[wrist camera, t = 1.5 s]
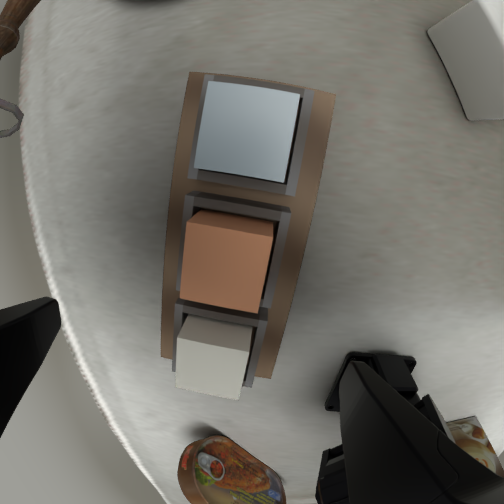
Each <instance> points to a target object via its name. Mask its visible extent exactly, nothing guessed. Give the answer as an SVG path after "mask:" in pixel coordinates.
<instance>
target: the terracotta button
mask: <svg viewBox="0 0 504 504" xmlns="http://www.w3.org/2000/svg"><path fill="white" fill-rule="evenodd" d="M272 241H273V222H270V221H265V220H260V219H254V218H249V217H243V216H238V215H232V214H226V213H220V212H215V211H209V210H203V209H201V210H200V211H199V212H197V213H196V214H195V215H194V216H193V217H192V218H191V219H189V220H188V221H187V224H186V233H185V243H184V253H183V263H182V274H181V286H180V298H181V299H185V300H190V301H195V302H200V303H205V304H210V305H215V306H220V307H225V308H230V309H235V310H241V311H246V312H252V313H257V314H258V309H259V304H260V299H261V295H262V290H263V285H264V280H265V275H266V270H267V266H268V261H269V256H270V251H271V246H272Z"/></svg>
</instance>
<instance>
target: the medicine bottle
mask: <svg viewBox="0 0 504 504" xmlns="http://www.w3.org/2000/svg"><path fill="white" fill-rule="evenodd" d="M427 33H428V35H429V37H430V39H431V40H432V42H433V44H434V46H435V48H436V50H437V51H438V53H439V55H440V57H441V59H442V61H443V63H444V65H445V67H446V69H447V72H448V74H449V76H450V78H451V80H452V82H453V85H454V87H455V89H456V92H457V94H458V96H459V99H460V101H461V104H462V106H463V109H464V111H465V114H466V117H467V118H468V119H469V120H470V121H475V120H498V119H504V0H473V1H471V2H469V3H468V4H466V5H464V6H463V7H461V8H460V9H458V10H457V11H455V12H453V13H452V14H450V15H449V16H447V17H446V18H444V19H443V20H441V21H440V22H438V23H437V24H435V25H434V26H432V27H431V28H429V29H428V31H427Z"/></svg>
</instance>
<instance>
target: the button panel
mask: <svg viewBox="0 0 504 504" xmlns="http://www.w3.org/2000/svg"><path fill="white" fill-rule="evenodd" d="M208 81H215V82H224V83H233V84H241V85H249V86H256V87H262V88H269V89H275V90H280V91H286V92H291V93H296V94H300V98H299V104H298V109H297V115H296V120H295V126H294V131H293V137H292V142H291V148H290V153H289V158H288V164H287V169H286V174H285V179H284V183H282V182H277V181H272V180H266V179H261V178H255V177H250V176H244V175H238V174H232V173H225V172H219V171H213V170H206V169H199V168H194V162H195V156H196V149H197V143H198V137H199V130H200V125H201V119H202V113H203V107H204V102H205V96H206V91H207V86H208ZM335 98H336V94H332V93H328V92H324V91H320V90H315V89H311V88H306V87H302V86H297V85H291V84H286V83H281V82H275V81H269V80H262V79H256V78H249V77H241V76H232V75H223V74H213V73H200V72H189V77H188V82H187V87H186V93H185V98H184V104H183V109H182V115H181V121H180V127H179V133H178V140H177V146H176V153H175V160H174V168H173V175H172V183H171V192H170V201H169V210H168V220H167V231H166V243H165V256H164V272H163V290H162V315H161V357H164V358H168V359H172V371H173V372H176V351H177V337H178V335H179V333H180V331H181V328H182V326H183V324H184V322H185V320H186V318H187V316H188V314H193V315H198V316H203V317H208V318H213V319H218V320H223V321H228V322H233V323H239V324H244V325H250V326H252V334H251V342H250V350H249V356H248V360H247V365H246V369H245V374H244V378H243V383H242V386H246V387H252V384H253V380H254V376H256V377H263V378H269V379H271V376H272V372H273V369H274V365H275V362H276V358H277V355H278V351H279V348H280V344H281V341H282V337H283V333H284V330H285V326H286V322H287V318H288V315H289V311H290V307H291V303H292V299H293V295H294V291H295V288H296V284H297V280H298V275H299V271H300V267H301V263H302V259H303V255H304V251H305V246H306V242H307V238H308V233H309V229H310V225H311V220H312V216H313V211H314V207H315V202H316V197H317V192H318V188H319V183H320V178H321V173H322V168H323V163H324V158H325V153H326V148H327V142H328V137H329V132H330V126H331V121H332V115H333V109H334V103H335ZM201 209H203V210H209V211H215V212H220V213H226V214H232V215H238V216H243V217H249V218H254V219H260V220H265V221H270V222H273V241H272V246H271V251H270V256H269V261H268V266H267V270H266V275H265V280H264V285H263V290H262V295H261V299H260V304H259V309H258V314H257V313H252V312H246V311H241V310H235V309H230V308H225V307H220V306H215V305H210V304H205V303H200V302H195V301H190V300H185V299H181V298H180V286H181V274H182V263H183V253H184V243H185V233H186V224H187V221H188V220H189V219H191V218H192V217H193V216H194V215H195V214H196V213H197V212H199V211H200V210H201Z"/></svg>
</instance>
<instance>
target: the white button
mask: <svg viewBox="0 0 504 504" xmlns="http://www.w3.org/2000/svg"><path fill="white" fill-rule="evenodd" d="M251 334H252V326H250V325H244V324H239V323H233V322H228V321H223V320H218V319H213V318H208V317H203V316H198V315H193V314H188V316H187V318H186V320H185V322H184V324H183V326H182V328H181V331H180V333H179V335H178V337H177V351H176V379H175V387H177V388H181V389H185V390H190V391H194V392H198V393H203V394H208V395H213V396H218V397H223V398H228V399H234V400H239V396H240V392H241V387H242V383H243V378H244V374H245V369H246V365H247V360H248V356H249V350H250V342H251Z"/></svg>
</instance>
